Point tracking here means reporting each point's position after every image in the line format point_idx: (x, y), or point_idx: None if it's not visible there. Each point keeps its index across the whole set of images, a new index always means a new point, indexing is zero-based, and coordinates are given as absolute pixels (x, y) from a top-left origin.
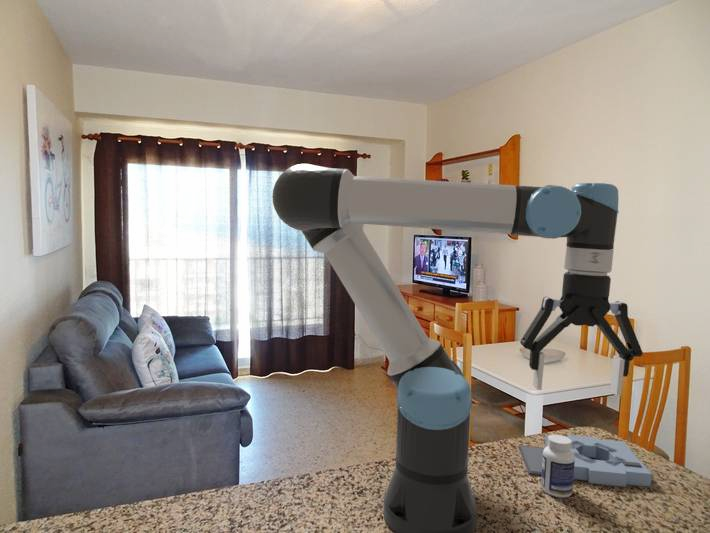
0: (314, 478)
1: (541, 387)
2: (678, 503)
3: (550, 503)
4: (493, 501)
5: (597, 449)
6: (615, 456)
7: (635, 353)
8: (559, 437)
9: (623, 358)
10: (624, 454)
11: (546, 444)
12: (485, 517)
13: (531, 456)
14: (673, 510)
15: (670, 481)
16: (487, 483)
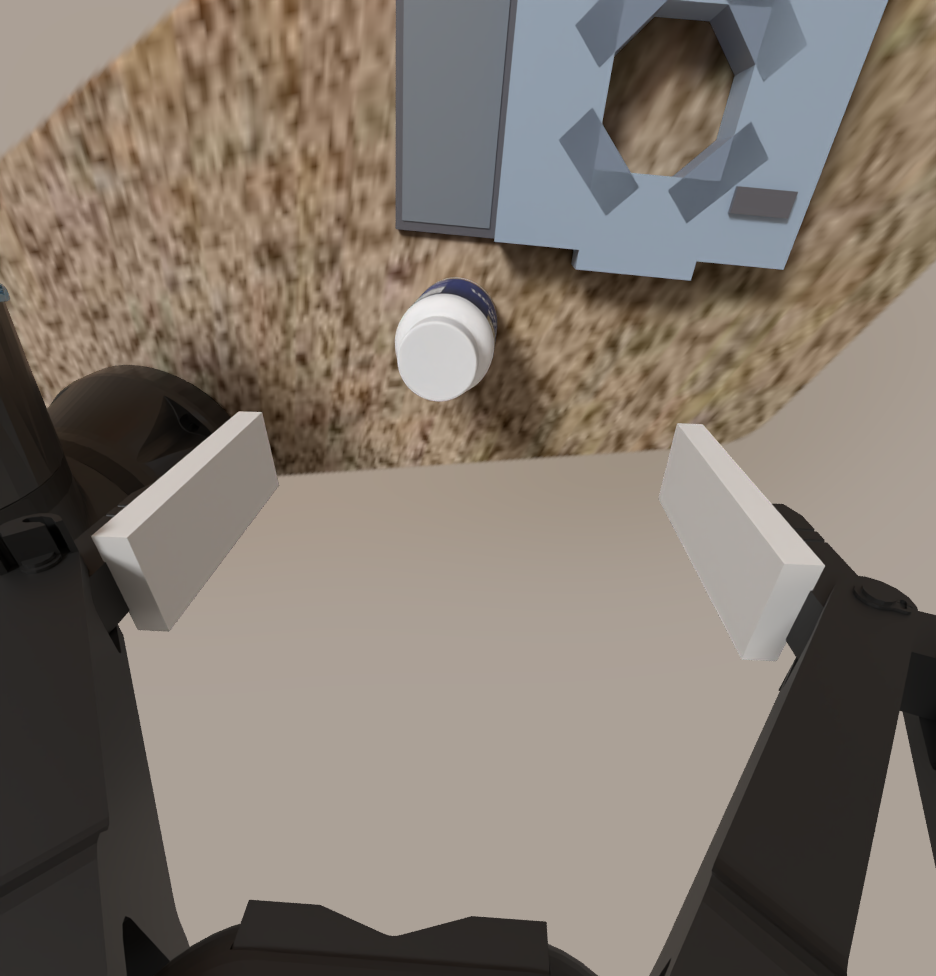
0: None
1: (272, 493)
2: (771, 351)
3: None
4: (289, 389)
5: (726, 15)
6: (747, 123)
7: (905, 712)
8: (440, 346)
9: (792, 643)
10: (804, 92)
11: None
12: (274, 449)
13: (429, 84)
14: (726, 386)
15: (869, 213)
16: (273, 303)
